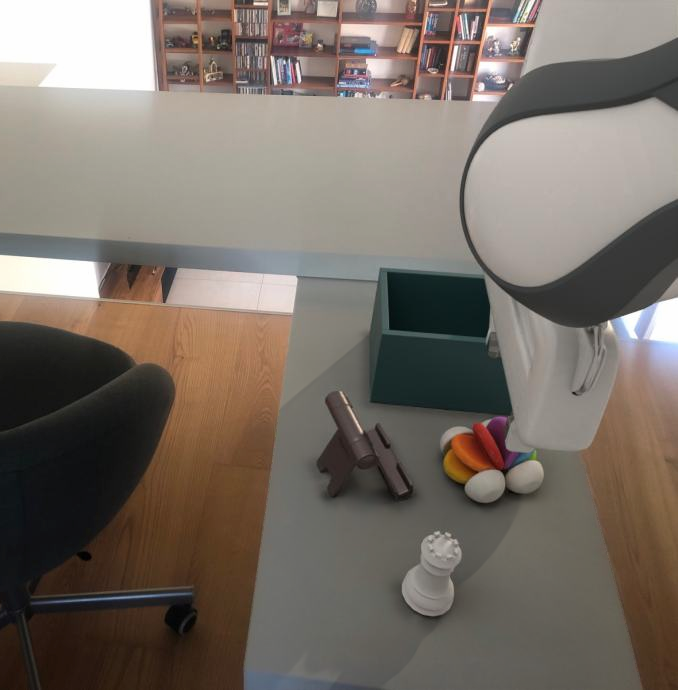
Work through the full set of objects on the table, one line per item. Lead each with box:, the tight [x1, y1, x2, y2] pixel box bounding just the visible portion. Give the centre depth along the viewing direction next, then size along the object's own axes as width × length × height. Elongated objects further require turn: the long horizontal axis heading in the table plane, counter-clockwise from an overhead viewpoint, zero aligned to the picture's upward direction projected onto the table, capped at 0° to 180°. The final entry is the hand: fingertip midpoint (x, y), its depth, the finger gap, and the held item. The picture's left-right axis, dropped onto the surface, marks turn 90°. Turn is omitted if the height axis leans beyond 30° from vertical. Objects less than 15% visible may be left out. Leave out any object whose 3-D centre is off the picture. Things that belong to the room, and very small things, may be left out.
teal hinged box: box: [369, 267, 513, 416], centre depth 80 cm, size 16×13×10 cm
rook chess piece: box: [401, 530, 463, 617], centre depth 59 cm, size 4×4×8 cm
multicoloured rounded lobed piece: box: [439, 416, 545, 504], centre depth 70 cm, size 8×10×7 cm
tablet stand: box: [316, 390, 414, 501], centre depth 70 cm, size 9×8×8 cm
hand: (506, 394), depth 50 cm, fingers open, 8 cm apart
